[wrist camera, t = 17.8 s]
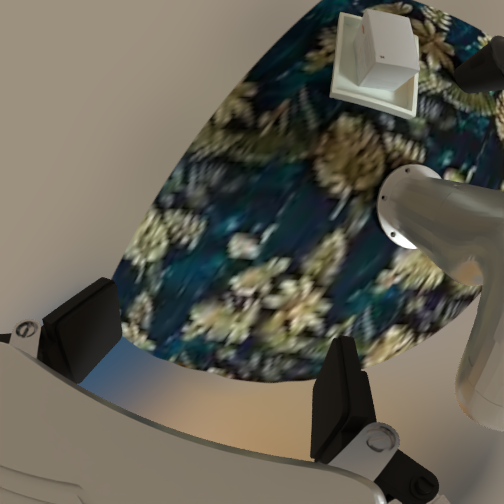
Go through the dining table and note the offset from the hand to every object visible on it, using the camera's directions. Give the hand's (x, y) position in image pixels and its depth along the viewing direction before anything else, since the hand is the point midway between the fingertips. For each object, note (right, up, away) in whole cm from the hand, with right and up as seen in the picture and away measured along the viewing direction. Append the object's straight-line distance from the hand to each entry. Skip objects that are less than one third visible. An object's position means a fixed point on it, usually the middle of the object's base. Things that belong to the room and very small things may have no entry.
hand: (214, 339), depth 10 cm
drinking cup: (+36, +31, +15) cm, 50 cm away
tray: (+19, +30, +19) cm, 40 cm away
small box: (+19, +30, +18) cm, 40 cm away
